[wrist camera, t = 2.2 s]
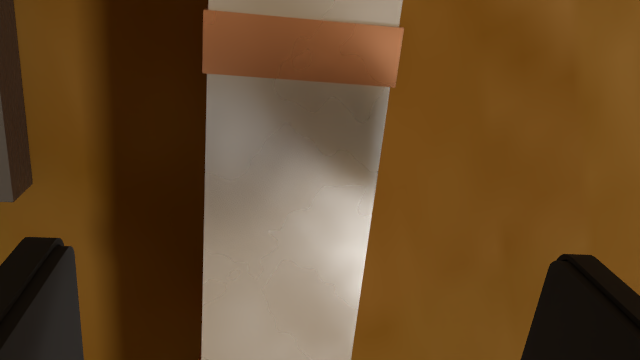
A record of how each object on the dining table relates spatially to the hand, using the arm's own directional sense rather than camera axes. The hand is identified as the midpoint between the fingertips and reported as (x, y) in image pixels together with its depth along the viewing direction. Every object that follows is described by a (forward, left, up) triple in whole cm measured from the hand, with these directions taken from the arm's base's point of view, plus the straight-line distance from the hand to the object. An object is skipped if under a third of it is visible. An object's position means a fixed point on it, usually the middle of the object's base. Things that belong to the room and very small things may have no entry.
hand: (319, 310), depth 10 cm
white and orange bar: (-1, 0, -8) cm, 8 cm away
